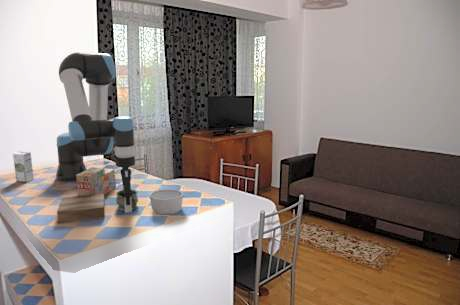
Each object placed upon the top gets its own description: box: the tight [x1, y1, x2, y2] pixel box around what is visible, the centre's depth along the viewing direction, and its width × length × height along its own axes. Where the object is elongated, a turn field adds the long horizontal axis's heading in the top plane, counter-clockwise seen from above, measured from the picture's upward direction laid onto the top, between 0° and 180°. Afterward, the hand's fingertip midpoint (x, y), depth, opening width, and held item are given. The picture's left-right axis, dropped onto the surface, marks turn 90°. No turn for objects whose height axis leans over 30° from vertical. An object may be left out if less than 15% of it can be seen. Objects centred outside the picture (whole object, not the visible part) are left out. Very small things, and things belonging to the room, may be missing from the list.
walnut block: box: [56, 194, 106, 224], centre depth 142 cm, size 16×16×5 cm
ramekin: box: [149, 188, 184, 216], centre depth 146 cm, size 13×13×7 cm
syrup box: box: [12, 150, 35, 183], centre depth 181 cm, size 6×6×14 cm
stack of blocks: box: [76, 166, 117, 196], centre depth 163 cm, size 21×6×12 cm, turn 169°
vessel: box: [115, 189, 139, 211], centre depth 149 cm, size 12×9×6 cm
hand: (127, 206), depth 150 cm, fingers open, 13 cm apart
